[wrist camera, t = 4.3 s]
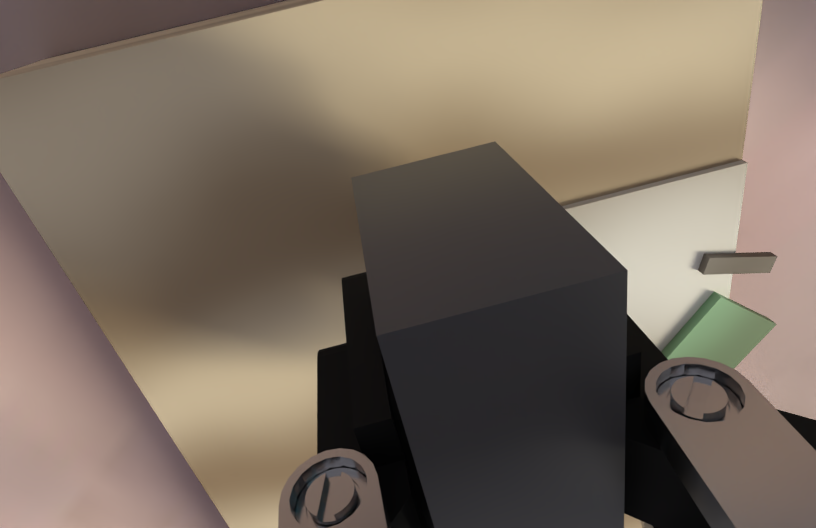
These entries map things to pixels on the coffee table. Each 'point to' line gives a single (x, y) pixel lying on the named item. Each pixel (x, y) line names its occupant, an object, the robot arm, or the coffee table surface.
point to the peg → (498, 342)
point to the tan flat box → (360, 154)
